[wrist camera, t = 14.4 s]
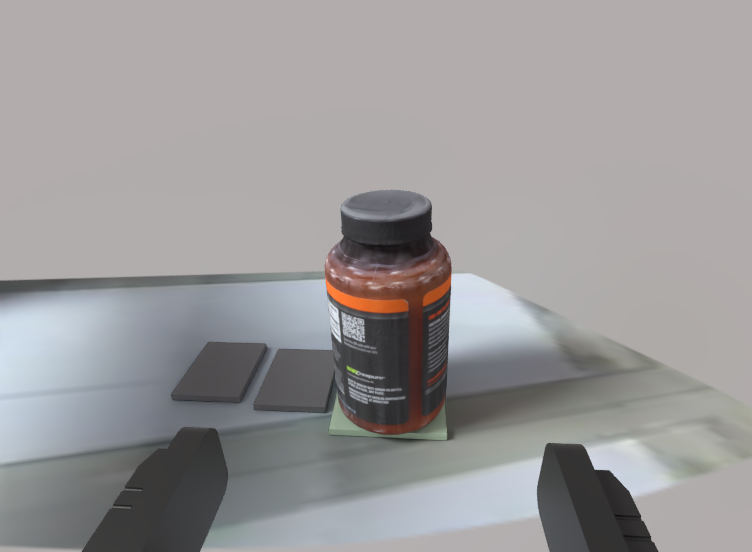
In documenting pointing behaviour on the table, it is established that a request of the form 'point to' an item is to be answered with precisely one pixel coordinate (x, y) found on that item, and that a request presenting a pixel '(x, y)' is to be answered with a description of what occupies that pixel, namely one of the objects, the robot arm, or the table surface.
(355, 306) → the supplement bottle
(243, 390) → the track
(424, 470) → the table surface
